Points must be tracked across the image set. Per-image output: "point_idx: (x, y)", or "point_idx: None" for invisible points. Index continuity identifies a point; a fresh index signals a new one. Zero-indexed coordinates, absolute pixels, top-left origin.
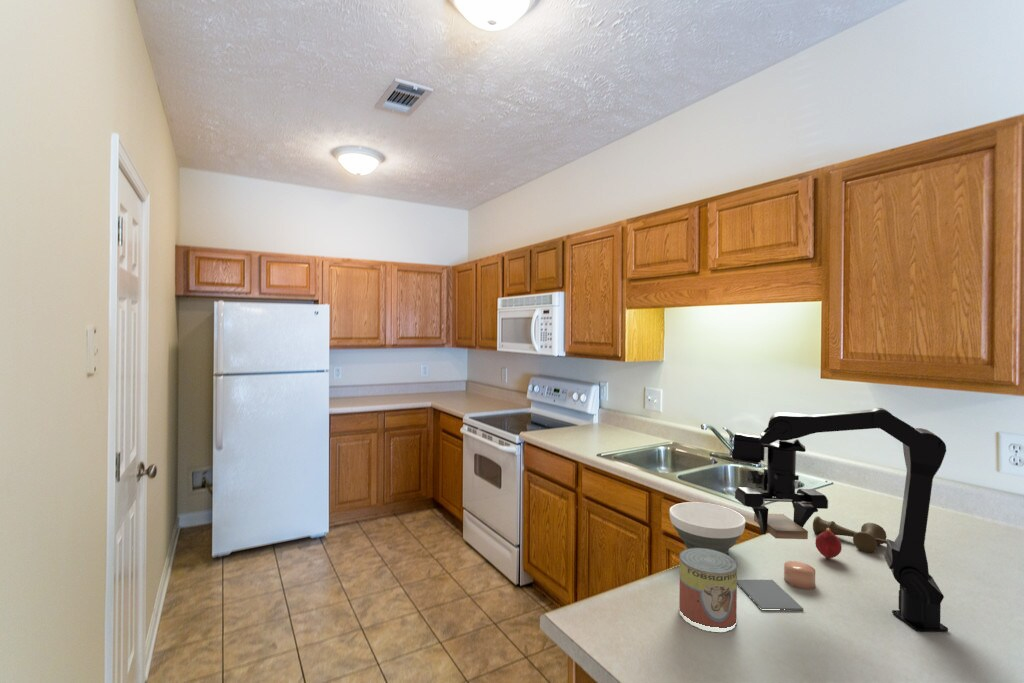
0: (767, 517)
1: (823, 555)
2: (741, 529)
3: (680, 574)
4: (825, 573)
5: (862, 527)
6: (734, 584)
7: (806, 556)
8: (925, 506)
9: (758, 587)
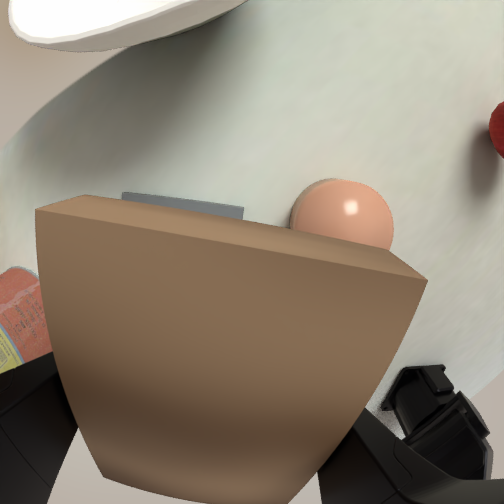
0: (53, 479)
1: (489, 130)
2: (222, 1)
3: None
4: (439, 195)
5: None
6: None
7: (458, 100)
8: None
9: None
